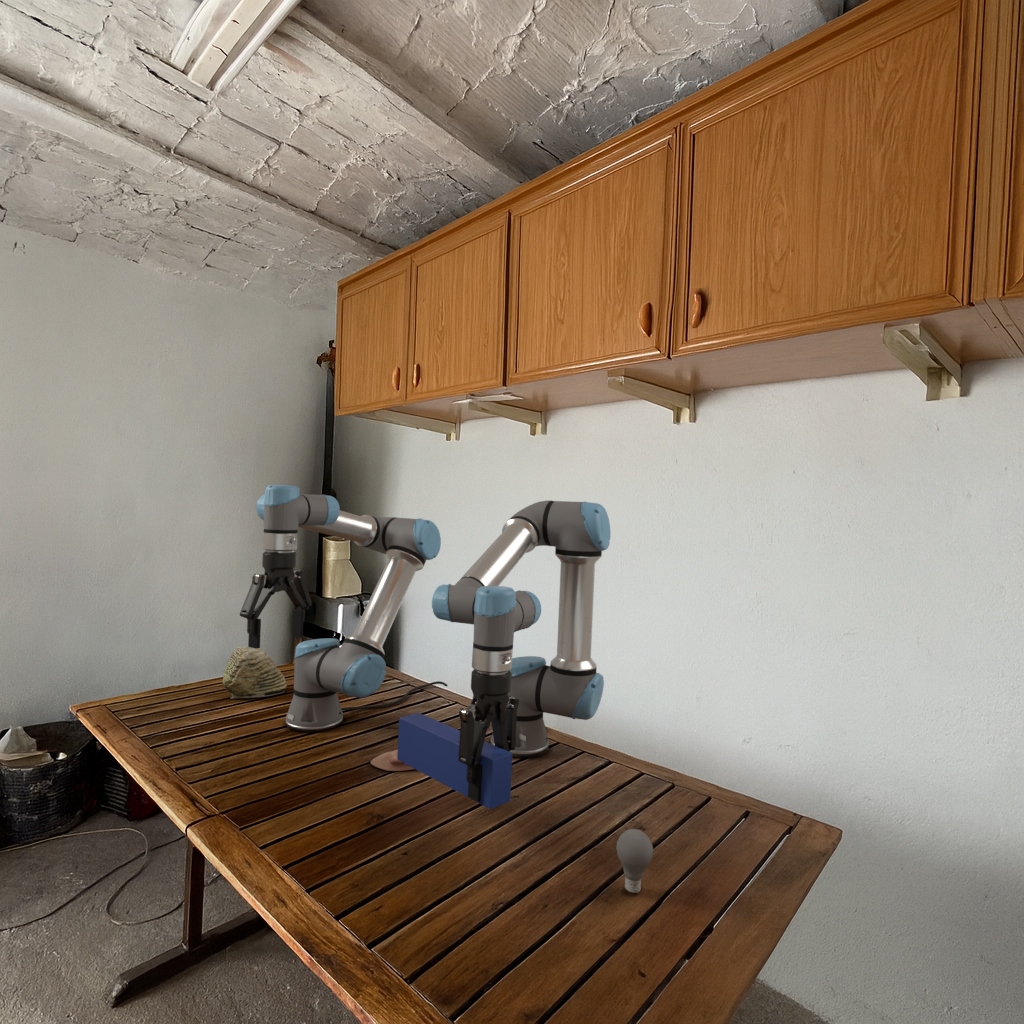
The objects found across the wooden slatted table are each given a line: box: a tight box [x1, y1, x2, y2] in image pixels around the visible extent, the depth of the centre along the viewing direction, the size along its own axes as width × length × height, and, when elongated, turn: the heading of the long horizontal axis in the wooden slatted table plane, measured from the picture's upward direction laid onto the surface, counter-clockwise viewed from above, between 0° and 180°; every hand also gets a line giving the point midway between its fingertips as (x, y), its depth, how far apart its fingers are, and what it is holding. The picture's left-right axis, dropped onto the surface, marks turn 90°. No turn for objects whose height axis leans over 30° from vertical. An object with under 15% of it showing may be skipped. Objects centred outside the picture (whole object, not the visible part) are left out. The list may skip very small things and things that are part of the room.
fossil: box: [222, 646, 288, 699], centre depth 198 cm, size 9×18×15 cm, turn 132°
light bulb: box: [615, 828, 654, 894], centre depth 106 cm, size 6×6×10 cm
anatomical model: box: [370, 748, 415, 772], centre depth 153 cm, size 13×4×12 cm
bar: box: [397, 712, 513, 810], centre depth 125 cm, size 28×5×9 cm, turn 46°
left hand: (276, 642), depth 148 cm, fingers open, 13 cm apart
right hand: (485, 794), depth 118 cm, fingers closed on bar, 5 cm apart
